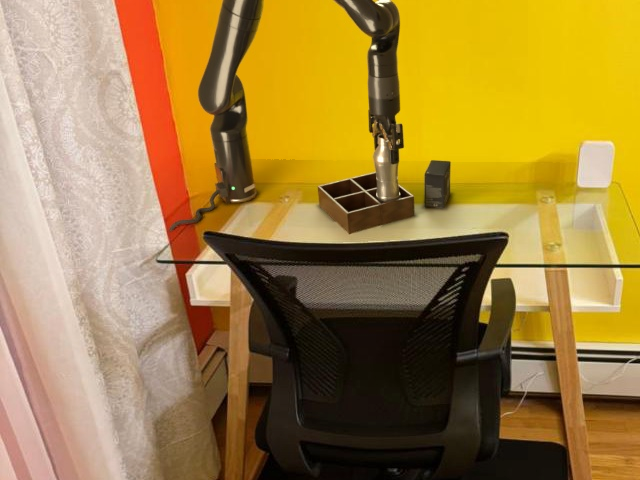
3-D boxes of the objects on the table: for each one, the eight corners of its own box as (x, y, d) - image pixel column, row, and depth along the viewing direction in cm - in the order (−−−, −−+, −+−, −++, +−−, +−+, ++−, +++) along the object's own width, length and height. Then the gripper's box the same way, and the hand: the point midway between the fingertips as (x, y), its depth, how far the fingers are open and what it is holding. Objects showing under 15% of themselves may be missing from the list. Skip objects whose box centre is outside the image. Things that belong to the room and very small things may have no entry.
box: (444, 209, 206) (444, 175, 200) (423, 207, 207) (423, 173, 202) (450, 193, 213) (451, 160, 208) (430, 192, 214) (430, 159, 209)
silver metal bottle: (399, 216, 202) (396, 141, 190) (373, 215, 203) (368, 140, 191) (404, 205, 207) (401, 131, 195) (379, 204, 208) (374, 130, 196)
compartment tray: (348, 233, 197) (347, 213, 193) (319, 205, 210) (317, 186, 207) (414, 216, 203) (414, 196, 200) (382, 189, 217) (381, 170, 213)
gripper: (356, 87, 190) (361, 151, 200) (383, 103, 180) (386, 170, 190) (384, 81, 193) (387, 145, 202) (412, 97, 183) (413, 164, 192)
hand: (386, 157), depth 196 cm, fingers open, 8 cm apart
